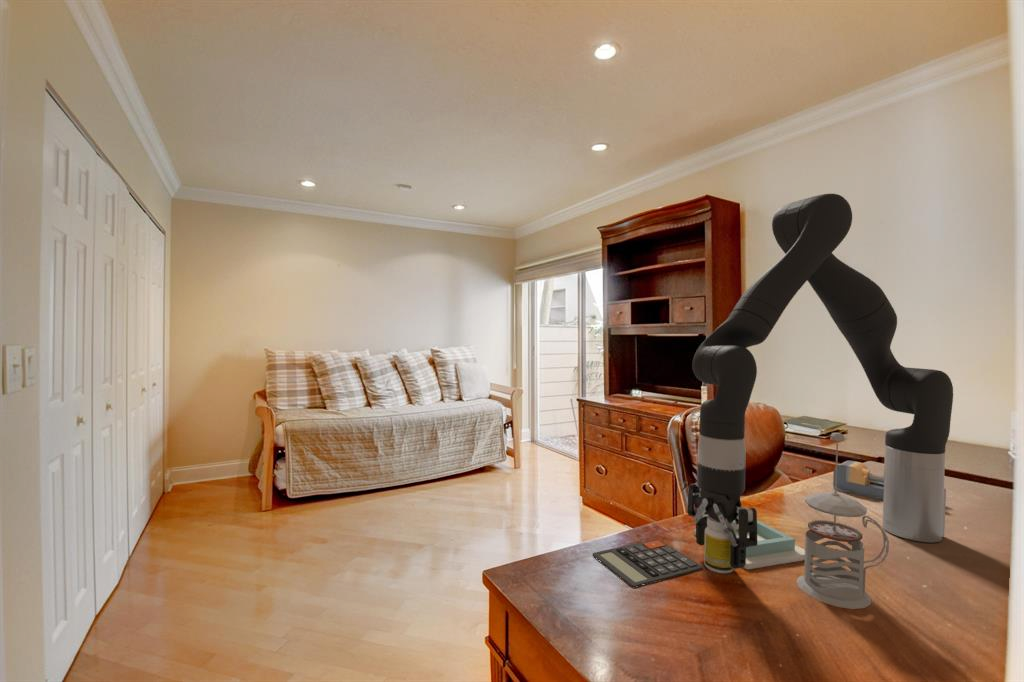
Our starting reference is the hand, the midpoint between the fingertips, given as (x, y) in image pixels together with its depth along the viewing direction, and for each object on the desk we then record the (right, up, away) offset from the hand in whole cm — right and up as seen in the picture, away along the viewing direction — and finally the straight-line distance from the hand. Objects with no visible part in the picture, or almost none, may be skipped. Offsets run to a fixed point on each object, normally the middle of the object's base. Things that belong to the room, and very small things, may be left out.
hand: (718, 555), depth 82 cm
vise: (+55, -2, +36) cm, 65 cm away
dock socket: (+9, -2, +8) cm, 12 cm away
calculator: (-12, -3, +2) cm, 12 cm away
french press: (+16, -3, -7) cm, 18 cm away
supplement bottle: (0, -2, 0) cm, 2 cm away
